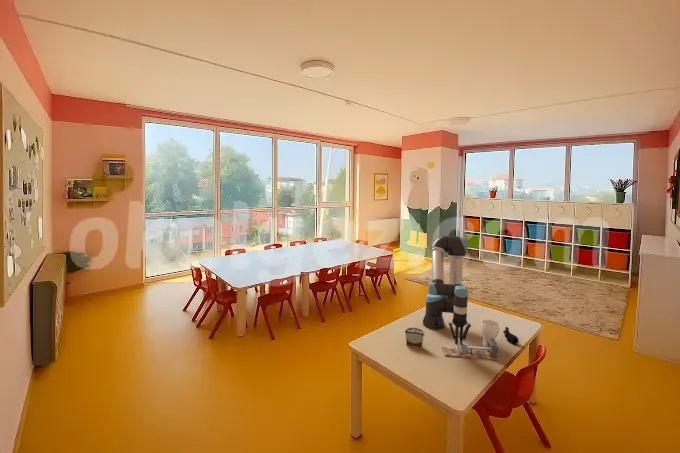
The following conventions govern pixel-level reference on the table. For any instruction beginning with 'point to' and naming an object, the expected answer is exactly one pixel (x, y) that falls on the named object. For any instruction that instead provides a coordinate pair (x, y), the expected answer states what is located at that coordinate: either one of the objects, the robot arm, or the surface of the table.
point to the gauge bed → (475, 351)
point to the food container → (414, 337)
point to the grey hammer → (471, 348)
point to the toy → (510, 336)
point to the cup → (489, 330)
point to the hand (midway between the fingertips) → (458, 349)
